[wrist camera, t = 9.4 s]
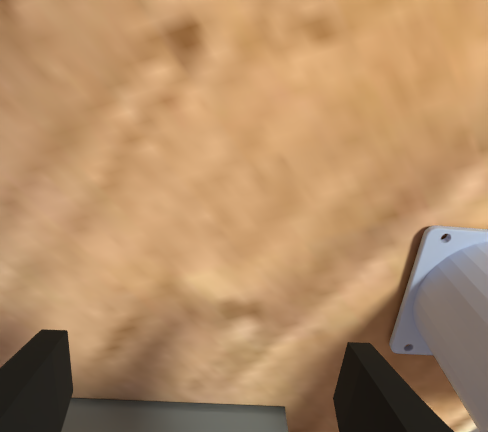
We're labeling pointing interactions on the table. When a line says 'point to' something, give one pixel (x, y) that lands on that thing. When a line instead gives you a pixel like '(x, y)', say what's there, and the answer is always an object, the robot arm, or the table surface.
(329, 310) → the table surface
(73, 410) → the bin
